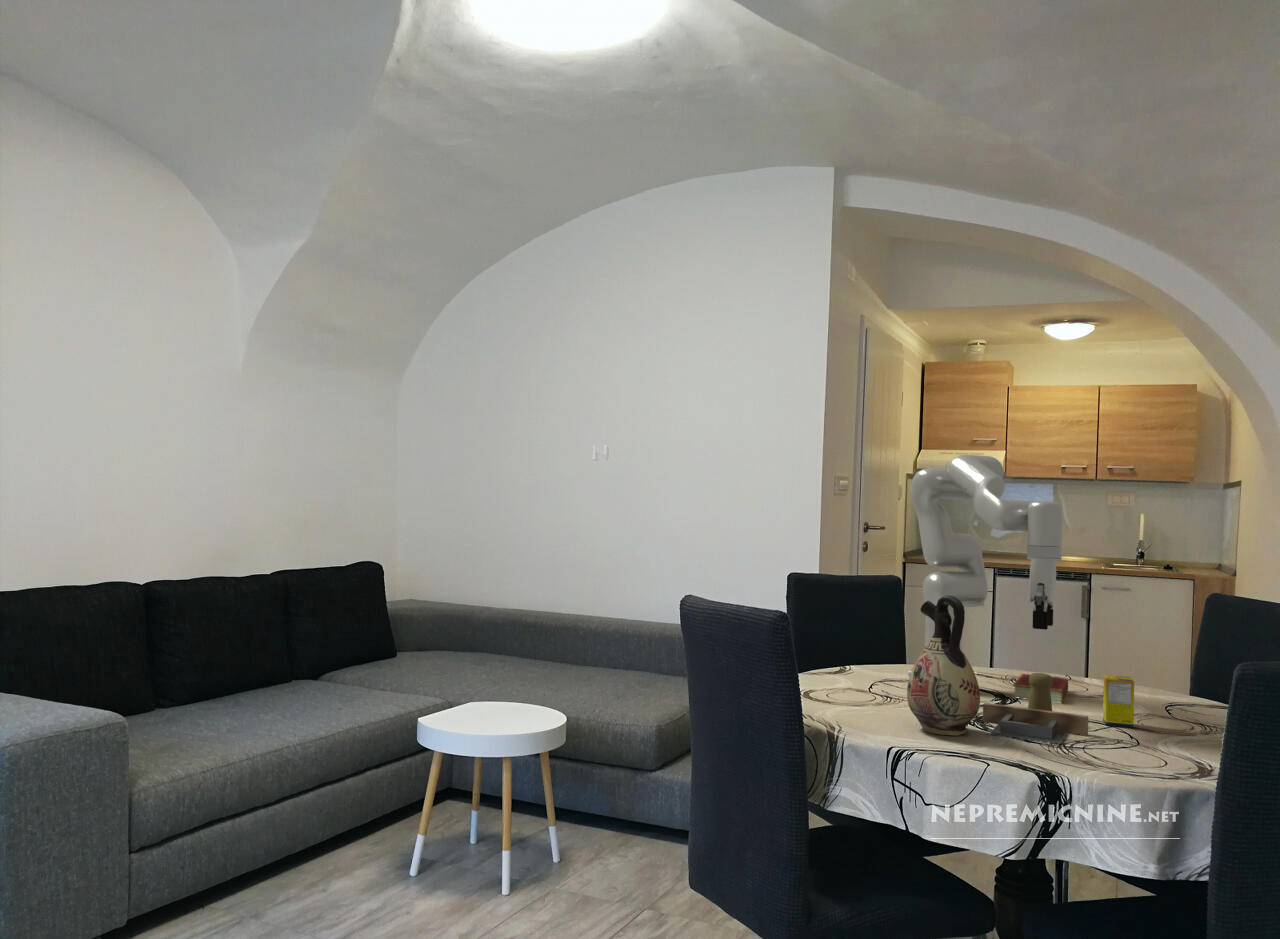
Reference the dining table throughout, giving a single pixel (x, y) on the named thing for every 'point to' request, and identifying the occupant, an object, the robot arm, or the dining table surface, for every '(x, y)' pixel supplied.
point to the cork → (1040, 691)
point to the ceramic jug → (944, 675)
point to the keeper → (1029, 730)
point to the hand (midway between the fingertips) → (1042, 627)
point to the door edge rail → (1036, 717)
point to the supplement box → (1118, 701)
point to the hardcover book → (1056, 690)
